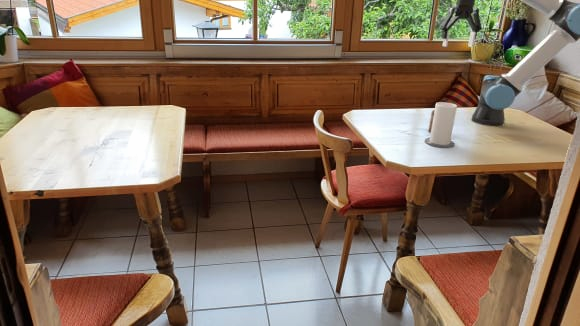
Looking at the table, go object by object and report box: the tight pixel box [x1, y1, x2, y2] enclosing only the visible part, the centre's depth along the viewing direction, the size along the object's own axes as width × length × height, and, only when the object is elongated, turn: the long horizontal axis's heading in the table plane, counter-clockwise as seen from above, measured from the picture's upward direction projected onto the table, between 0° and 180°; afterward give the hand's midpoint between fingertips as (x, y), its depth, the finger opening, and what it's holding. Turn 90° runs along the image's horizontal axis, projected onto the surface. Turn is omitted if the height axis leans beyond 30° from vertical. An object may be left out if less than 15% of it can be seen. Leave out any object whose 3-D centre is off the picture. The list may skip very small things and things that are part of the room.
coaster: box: [424, 136, 456, 149], centre depth 181 cm, size 12×12×1 cm
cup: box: [429, 101, 458, 145], centre depth 177 cm, size 8×8×16 cm
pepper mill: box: [428, 109, 435, 134], centre depth 194 cm, size 4×4×10 cm
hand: (457, 46), depth 195 cm, fingers open, 13 cm apart
